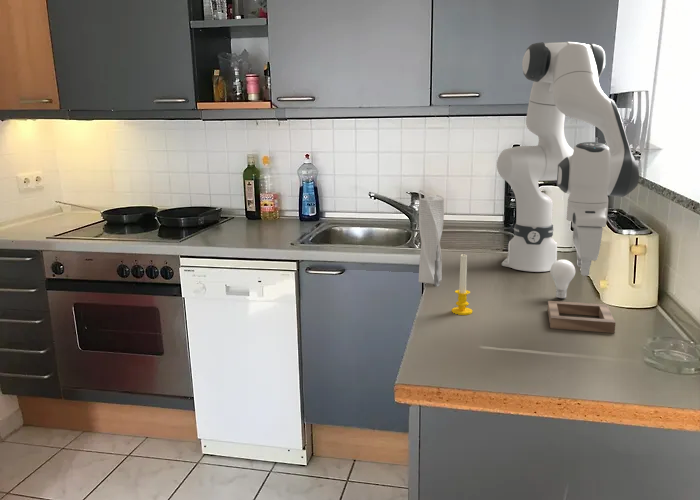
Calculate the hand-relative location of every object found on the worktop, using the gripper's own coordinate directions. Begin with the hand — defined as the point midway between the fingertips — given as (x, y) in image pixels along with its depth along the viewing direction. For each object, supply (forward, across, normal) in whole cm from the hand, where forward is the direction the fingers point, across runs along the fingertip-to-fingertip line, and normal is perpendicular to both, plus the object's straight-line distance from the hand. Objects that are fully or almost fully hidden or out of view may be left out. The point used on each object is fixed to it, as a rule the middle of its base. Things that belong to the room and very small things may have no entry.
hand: (582, 270), depth 143 cm
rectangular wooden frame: (+13, 0, 0) cm, 13 cm away
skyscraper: (+13, -25, -40) cm, 49 cm away
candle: (+13, -1, -28) cm, 31 cm away
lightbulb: (+13, -18, -3) cm, 22 cm away
